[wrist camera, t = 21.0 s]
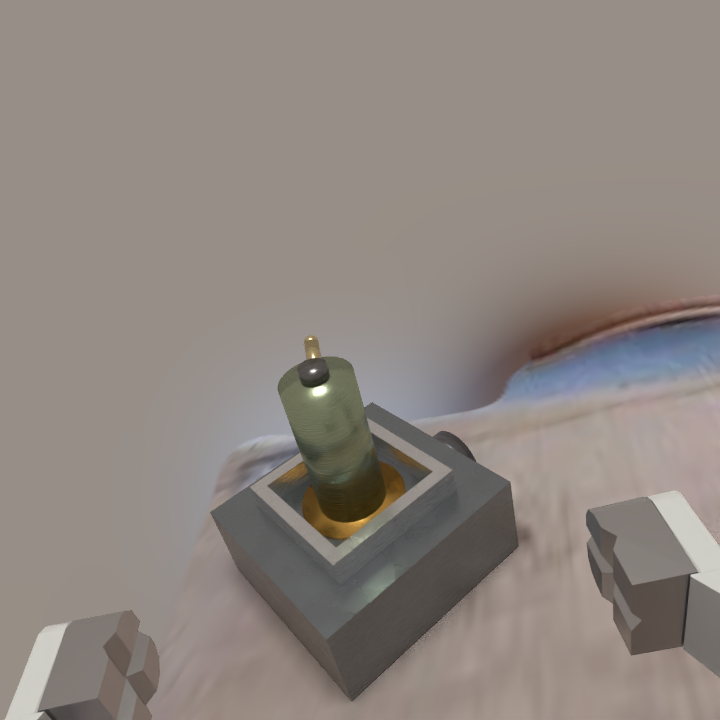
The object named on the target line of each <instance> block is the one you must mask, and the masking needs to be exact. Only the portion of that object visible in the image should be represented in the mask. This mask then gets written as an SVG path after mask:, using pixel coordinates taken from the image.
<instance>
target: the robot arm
mask: <svg viewBox="0 0 720 720" xmlns="http://www.w3.org/2000/svg"><path fill="white" fill-rule="evenodd" d="M586 525H587V527H588V529H589V531H590V533H591V535H592V537H591V538H590V539H589V541H588V542H587V549H588V558H589V562H590V566H591V570H592V573H593V576H594V579H595V581H596V584H597V586H598V588H599V590H600V593H601V595H602V597H604V598H605V599H607V600H608V601H610V602H611V603H613V620H614V622H615V624H616V626H617V628H618V630H619V632H620V634H621V636H622V638H623V640H624V642H625V644H626V646H627V648H628V650H629V652H630V654H631V655H637V654H642V653H648V652H654V651H659V650H665V649H670V648H676V647H682V646H684V647H683V649H684V650H685V651H687V652H688V653H689V654H690V655H692V656H693V657H694V658H696V659H697V660H698V661H699V662H701V663H702V664H703V665H705V666H706V667H707V668H708V669H710V670H711V671H712V672H714V673H715V674H716V675H717V676H719V677H720V546H719V544H718V543H717V541H716V540H715V539H714V537H713V536H712V535H711V533H710V532H709V531H708V529H707V528H706V526H705V525H704V524H703V522H702V521H701V520H700V518H699V517H698V516H697V514H696V513H695V511H694V510H693V509H692V507H691V506H690V505H689V503H688V502H687V501H686V499H685V498H684V496H683V495H682V494H681V493H679V492H678V491H676V490H675V491H670V492H666V493H661V494H657V495H652V496H647V497H641V498H636V499H632V500H628V501H623V502H619V503H615V504H610V505H606V506H602V507H597V508H593V509H589V510H588V511H587V514H586ZM139 623H140V621H139V619H138V618H137V617H136V616H135V614H134V613H133V611H132V610H130V611H124V612H118V613H113V614H107V615H102V616H96V617H91V618H86V619H81V620H76V621H71V622H66V623H61V624H56V625H51V626H46V627H45V628H44V629H43V630H42V631H41V633H40V634H39V635H38V636H37V639H36V642H35V644H34V647H33V649H32V652H31V655H30V657H29V659H28V662H27V665H26V667H25V670H24V672H23V675H22V677H21V680H20V682H19V685H18V688H17V690H16V693H15V696H14V698H13V701H12V703H11V706H10V708H9V711H8V713H7V716H6V718H5V719H4V720H151V719H152V715H151V713H150V711H149V710H148V708H147V706H146V704H147V703H148V702H149V700H150V699H151V698H152V696H153V695H154V694H155V692H156V691H157V688H158V682H159V676H160V667H159V655H158V652H157V649H156V646H155V644H154V642H153V641H152V639H151V637H150V636H147V635H146V634H143V633H141V632H139V631H138V627H139Z"/></svg>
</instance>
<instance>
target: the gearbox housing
mask: <svg viewBox="0 0 720 720" xmlns="http://www.w3.org/2000/svg"><path fill="white" fill-rule="evenodd" d="M364 410H365V413H366V417H367V421H368V424H369V428H370V431H371V435H372V439H373V442H374V446H375V450H376V453H377V457H378V461H379V464H380V468H381V472H382V475H383V479H384V483H385V486H386V497H385V500H384V502H383V504H382V505H381V506H380V508H379V509H378V510H377V511H376V512H374V513H373V514H372V515H370V516H368V517H366V518H364V519H362V520H359V521H355V522H347V523H344V522H336V521H333V520H331V519H329V518H327V517H326V516H325V515H324V514H323V513H322V511H321V509H320V507H319V504H318V501H317V498H316V496H315V493H314V490H313V487H312V484H311V482H310V479H309V476H308V473H307V470H306V468H305V465H304V462H303V459H302V456H301V454H300V452H298V453H297V454H295V455H294V456H292V457H291V458H289V459H288V460H286V461H285V462H284V463H282V464H281V465H279V466H278V467H276V468H275V469H273V470H272V471H270V472H269V473H267V474H266V475H264V476H263V477H261V478H260V479H259V480H257V481H256V482H254V483H253V484H251V485H250V486H248V487H247V488H245V489H244V490H242V491H241V492H239V493H238V494H236V495H235V496H234V497H232V498H231V499H229V500H228V501H226V502H225V503H223V504H222V505H220V506H219V507H217V508H216V509H214V510H213V511H211V512H210V513H211V515H212V517H213V519H214V521H215V523H216V525H217V527H218V529H219V531H220V533H221V535H222V537H223V539H224V541H225V543H226V545H227V547H228V549H229V551H230V553H231V555H232V557H233V559H234V561H235V563H236V566H237V568H238V569H239V571H240V572H241V573H242V574H243V575H244V576H245V578H246V579H247V580H248V581H249V582H250V583H251V585H252V586H253V587H254V588H255V589H256V590H257V592H258V593H259V594H260V595H261V596H262V597H263V598H264V600H265V601H266V602H267V603H268V604H269V605H270V607H271V608H272V609H273V610H274V611H275V612H276V614H277V615H278V616H279V617H280V618H281V619H282V621H283V622H284V623H285V624H286V625H287V626H288V628H289V629H290V630H291V631H292V632H293V633H294V635H295V636H296V637H297V638H298V639H299V640H300V642H301V643H302V644H303V645H304V646H305V647H306V648H307V650H308V651H309V652H310V653H311V654H312V655H313V657H314V658H315V659H316V660H317V661H318V662H319V664H320V665H321V666H322V667H323V668H324V669H325V671H326V672H327V673H328V674H329V675H330V676H331V678H332V679H333V680H334V681H335V682H336V683H337V685H338V686H339V687H340V688H341V689H342V690H343V691H344V693H345V694H346V695H347V696H348V697H349V698H350V700H351V701H353V700H354V699H355V698H356V697H357V696H358V695H359V694H360V693H361V692H362V691H363V690H364V689H365V688H367V687H368V686H369V685H370V684H371V683H372V682H373V681H374V680H375V679H376V678H377V677H378V676H379V675H380V674H382V673H383V672H384V671H385V670H386V669H387V668H388V667H389V666H390V665H391V664H392V663H393V662H394V661H395V660H397V659H398V658H399V657H400V656H401V655H402V654H403V653H404V652H405V651H406V650H407V649H408V648H409V647H411V646H412V645H413V644H414V643H415V642H416V641H417V640H418V639H419V638H420V637H421V636H422V635H423V634H424V633H426V632H427V631H428V630H429V629H430V628H431V627H432V626H433V625H434V624H435V623H436V622H437V621H438V620H439V619H441V618H442V617H443V616H444V615H445V614H446V613H447V612H448V611H449V610H450V609H451V608H452V607H453V606H455V605H456V604H457V603H458V602H459V601H460V600H461V599H462V598H463V597H464V596H465V595H466V594H467V593H468V592H470V591H471V590H472V589H473V588H474V587H475V586H476V585H477V584H478V583H479V582H480V581H481V580H482V579H483V578H485V577H486V576H487V575H488V574H489V573H490V572H491V571H492V570H493V569H494V568H495V567H496V566H497V565H499V564H500V563H501V562H502V561H503V560H504V559H505V558H506V557H507V556H508V555H509V554H510V553H511V552H512V551H514V550H515V549H516V548H517V547H518V539H517V531H516V523H515V516H514V508H513V500H512V492H511V484H510V481H508V480H506V479H504V478H503V477H501V476H499V475H497V474H496V473H494V472H492V471H490V470H489V469H487V468H485V467H484V466H482V465H480V464H478V463H477V462H476V460H475V458H474V456H473V455H472V453H471V451H470V450H469V449H468V447H467V446H466V445H465V444H464V443H463V442H462V441H461V440H460V439H459V438H458V437H456V436H455V435H453V434H451V433H449V432H446V431H440V432H438V433H437V434H436V435H434V436H433V437H431V436H430V435H428V434H426V433H424V432H423V431H421V430H419V429H417V428H416V427H414V426H412V425H411V424H409V423H407V422H405V421H404V420H402V419H400V418H398V417H396V416H395V415H393V414H391V413H389V412H388V411H386V410H384V409H383V408H381V407H379V406H377V405H376V404H374V403H370V404H369V405H367V406H366V407H365V408H364Z"/></svg>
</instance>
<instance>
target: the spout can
mask: <svg viewBox="0 0 720 720" xmlns="http://www.w3.org/2000/svg"><path fill="white" fill-rule="evenodd" d="M304 346H305V352H306V357H307V360H306V361H304V362H302V363H300V364H298V365H296V366H294V367H293V368H291V369H290V370H289V371H287V372H286V373H285V374H284V375H283V377H282V378H281V379H280V381H279V384H278V392H279V395H280V398H281V401H282V403H283V406H284V409H285V412H286V415H287V417H288V420H289V423H290V426H291V428H292V431H293V434H294V437H295V440H296V443H297V445H298V448H299V451H300V454H301V456H302V459H303V462H304V465H305V468H306V470H307V473H308V476H309V479H310V482H311V484H312V487H313V490H314V493H315V496H316V498H317V501H318V504H319V507H320V509H321V511H322V513H323V514H324V515H325V516H326V517H327V518H329V519H331V520H333V521H336V522H344V523H347V522H355V521H359V520H362V519H364V518H366V517H368V516H370V515H372V514H373V513H374V512H376V511H377V510H378V509H379V508H380V506H381V505H382V504H383V502H384V500H385V497H386V486H385V483H384V479H383V475H382V472H381V468H380V464H379V461H378V457H377V453H376V450H375V446H374V442H373V439H372V435H371V431H370V428H369V424H368V421H367V417H366V413H365V410H364V406H363V402H362V399H361V395H360V391H359V388H358V384H357V381H356V377H355V373H354V369H353V367H352V365H351V364H350V363H349V362H348V361H347V360H345V359H342V358H339V357H321V355H320V348H319V343H318V339H317V338H316V337H315V336H313V335H310V336H307V337H306V338H305V340H304Z"/></svg>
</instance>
